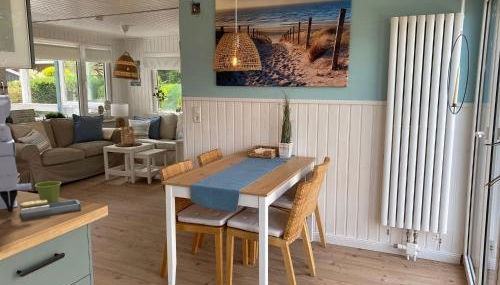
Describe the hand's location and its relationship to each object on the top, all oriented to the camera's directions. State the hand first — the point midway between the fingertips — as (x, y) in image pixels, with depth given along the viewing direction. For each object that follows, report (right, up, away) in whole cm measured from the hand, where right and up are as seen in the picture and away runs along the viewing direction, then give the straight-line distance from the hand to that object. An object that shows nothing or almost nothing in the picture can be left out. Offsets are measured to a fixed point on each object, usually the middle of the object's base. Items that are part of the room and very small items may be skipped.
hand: (10, 211), depth 141 cm
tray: (+15, -1, +10) cm, 18 cm away
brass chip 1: (+5, 0, +3) cm, 6 cm away
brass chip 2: (+8, 0, +6) cm, 10 cm away
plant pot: (+6, 0, +16) cm, 17 cm away
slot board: (+7, -2, +5) cm, 8 cm away
